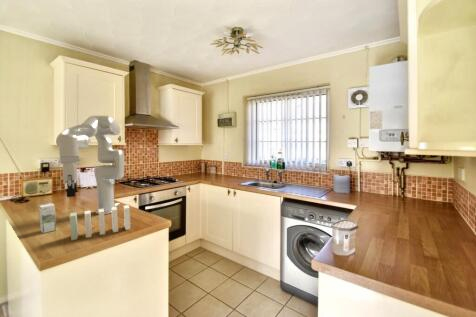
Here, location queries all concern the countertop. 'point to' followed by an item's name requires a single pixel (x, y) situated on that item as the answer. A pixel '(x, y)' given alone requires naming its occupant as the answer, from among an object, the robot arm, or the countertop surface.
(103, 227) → the domino
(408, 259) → the countertop surface
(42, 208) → the syrup box
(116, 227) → the domino
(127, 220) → the domino
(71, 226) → the sage domino
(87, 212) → the domino
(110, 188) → the robot arm
